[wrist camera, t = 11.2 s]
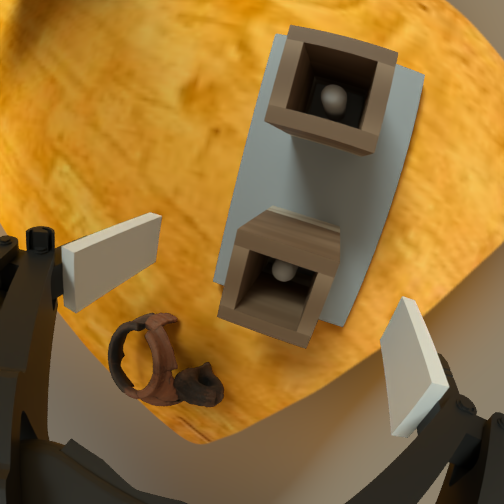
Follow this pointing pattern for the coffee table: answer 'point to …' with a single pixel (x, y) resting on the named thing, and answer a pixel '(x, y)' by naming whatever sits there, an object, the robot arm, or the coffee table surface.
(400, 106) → the pin board
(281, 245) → the sleeve loose
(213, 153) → the coffee table surface
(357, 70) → the sleeve seated
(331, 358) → the coffee table surface
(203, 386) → the pottery mug
